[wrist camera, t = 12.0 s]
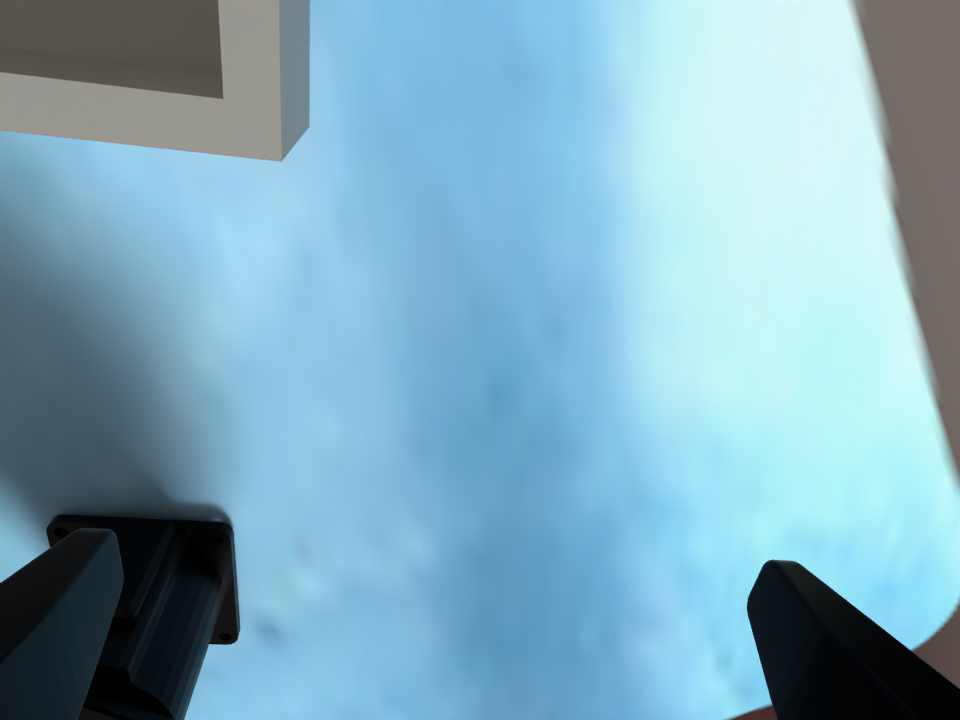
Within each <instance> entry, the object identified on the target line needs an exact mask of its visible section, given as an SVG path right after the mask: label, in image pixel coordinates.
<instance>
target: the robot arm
mask: <svg viewBox="0 0 960 720" xmlns="http://www.w3.org/2000/svg"><path fill="white" fill-rule="evenodd" d="M63 528H64V529H63ZM65 529H66V530H65ZM46 532H47V536H48V540H49V544H50V548H49V549H48V550H47V551H45V552H44V553H42V554H41V555H39V556H38V557H37V558H35V559H34V560H32V561H31V562H30V563H28V564H27V565H25V566H24V567H22V568H21V569H20V570H18V571H17V572H15V573H14V574H13V575H11V576H10V577H8V578H7V579H5V580H4V581H3V582H1V583H0V720H184V718H185V715H186V712H187V709H188V706H189V703H190V700H191V697H192V694H193V691H194V688H195V685H196V682H197V679H198V676H199V673H200V670H201V667H202V664H203V661H204V658H205V655H206V652H207V648H208V645H209V644H221V645H228V644H232V643H235V642H236V641H237V639H238V636H239V632H240V618H239V604H238V590H237V575H236V561H235V547H234V533H233V530H232V528H231V527H230V526H229V525H227V524H225V523H221V522H206V521H185V520H164V519H144V518H123V517H102V516H81V515H58V516H56V517H54V518H53V520H52V521H51V522H50V524H49V525H48V527H47V531H46ZM216 534H217V535H220V536H222V537H218V536H216ZM747 612H748V617H749V621H750V625H751V628H752V632H753V636H754V639H755V643H756V647H757V650H758V654H759V658H760V661H761V665H762V669H763V672H764V676H765V680H766V683H767V687H768V691H769V694H770V698H771V702H772V705H773V708H774V711H775V715H776V718H777V720H960V689H959V688H958V687H957V686H955V685H954V684H952V683H951V682H950V681H949V680H948V679H946V678H945V677H944V676H943V675H941V674H940V673H939V672H937V671H936V670H935V669H933V668H932V667H931V666H930V665H928V664H927V663H926V662H925V661H923V660H922V659H921V658H919V657H918V656H917V655H916V654H914V653H913V652H912V651H911V650H909V649H908V648H907V647H906V646H904V645H903V644H902V643H900V642H899V641H898V640H897V639H895V638H894V637H893V636H891V635H890V634H889V633H888V632H886V631H885V630H884V629H883V628H881V627H880V626H879V625H877V624H876V623H875V622H874V621H872V620H871V619H870V618H868V617H867V616H866V615H865V614H863V613H862V612H861V611H859V610H858V609H857V608H856V607H854V606H853V605H852V604H851V603H849V602H848V601H847V600H845V599H844V598H843V597H842V596H840V595H839V594H838V593H836V592H835V591H834V590H833V589H831V588H830V587H829V586H828V585H826V584H825V583H824V582H822V581H821V580H820V579H819V578H817V577H816V576H815V575H813V574H812V573H811V572H810V571H808V570H807V569H806V568H805V567H803V566H802V565H800V564H799V563H797V562H794V561H786V560H769V561H767V562H766V563H765V564H764V565H763V567H762V569H761V571H760V573H759V575H758V577H757V580H756V582H755V584H754V586H753V588H752V590H751V592H750V595H749V597H748V602H747Z"/></svg>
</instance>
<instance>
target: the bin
mask: <svg viewBox="0 0 960 720" xmlns="http://www.w3.org/2000/svg"><path fill="white" fill-rule="evenodd" d="M308 128H309V0H0V130H1V131H10V132H19V133H28V134H37V135H46V136H55V137H64V138H73V139H82V140H91V141H100V142H109V143H118V144H127V145H136V146H145V147H154V148H163V149H172V150H181V151H190V152H199V153H208V154H217V155H226V156H235V157H244V158H253V159H262V160H271V161H280V162H282V160H283V159H284V158H285V157H286V155H287V154H288V153H289V152H290V150H291V149H292V148H293V147H294V145H295V144H296V143H297V142H298V140H299V139H300V138H301V137H302V135H303V134H304V133H305V131H306V130H307V129H308Z"/></svg>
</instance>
